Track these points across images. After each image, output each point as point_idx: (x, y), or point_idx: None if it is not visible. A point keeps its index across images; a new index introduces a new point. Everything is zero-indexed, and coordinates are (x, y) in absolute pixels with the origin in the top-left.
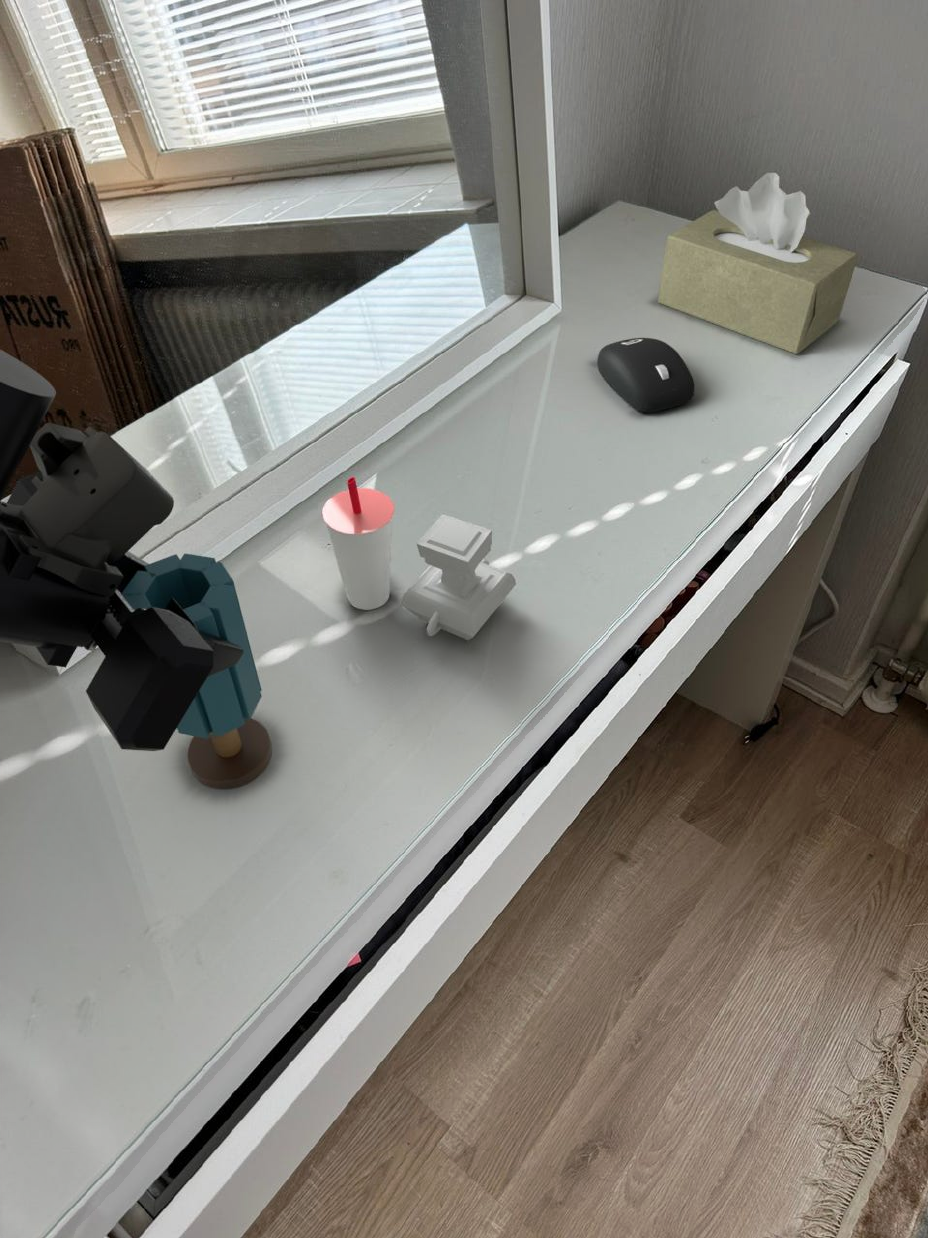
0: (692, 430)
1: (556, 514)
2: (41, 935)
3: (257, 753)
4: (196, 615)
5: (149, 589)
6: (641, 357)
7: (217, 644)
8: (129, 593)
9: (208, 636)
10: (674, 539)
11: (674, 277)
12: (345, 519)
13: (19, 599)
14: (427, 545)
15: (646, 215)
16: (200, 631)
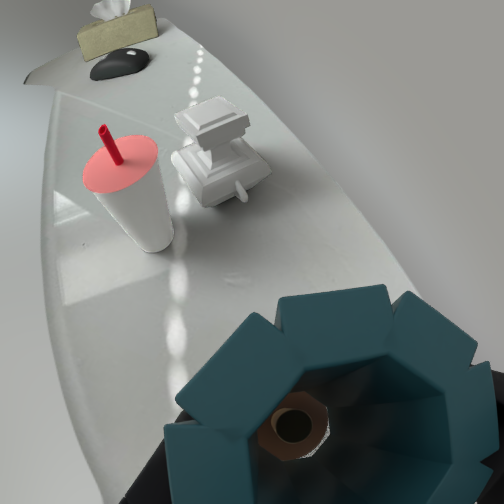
0: (165, 62)
1: (171, 112)
2: None
3: (306, 396)
4: (481, 405)
5: None
6: (117, 55)
7: (497, 372)
8: None
9: (497, 385)
10: (233, 82)
11: (88, 47)
12: (121, 174)
13: None
14: (204, 130)
15: (46, 63)
16: (501, 399)
